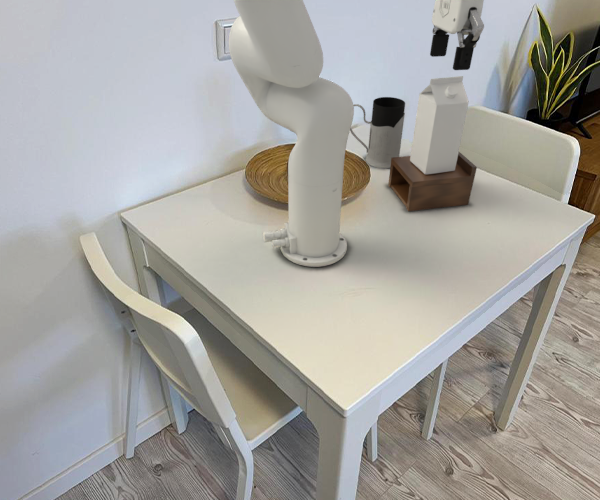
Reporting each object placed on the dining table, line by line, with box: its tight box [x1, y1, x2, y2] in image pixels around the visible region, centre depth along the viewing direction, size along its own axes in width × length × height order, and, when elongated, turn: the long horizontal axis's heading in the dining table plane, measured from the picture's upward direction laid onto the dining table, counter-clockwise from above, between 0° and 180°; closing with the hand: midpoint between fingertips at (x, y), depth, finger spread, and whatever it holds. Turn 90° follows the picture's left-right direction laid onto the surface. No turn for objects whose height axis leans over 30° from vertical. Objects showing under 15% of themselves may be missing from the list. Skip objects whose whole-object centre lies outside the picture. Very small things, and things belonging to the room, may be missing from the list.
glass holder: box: [350, 96, 406, 169], centre depth 125 cm, size 9×14×15 cm, turn 77°
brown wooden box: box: [387, 151, 478, 212], centre depth 112 cm, size 14×12×9 cm
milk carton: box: [409, 75, 469, 175], centre depth 105 cm, size 7×7×19 cm
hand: (448, 62), depth 98 cm, fingers open, 9 cm apart
